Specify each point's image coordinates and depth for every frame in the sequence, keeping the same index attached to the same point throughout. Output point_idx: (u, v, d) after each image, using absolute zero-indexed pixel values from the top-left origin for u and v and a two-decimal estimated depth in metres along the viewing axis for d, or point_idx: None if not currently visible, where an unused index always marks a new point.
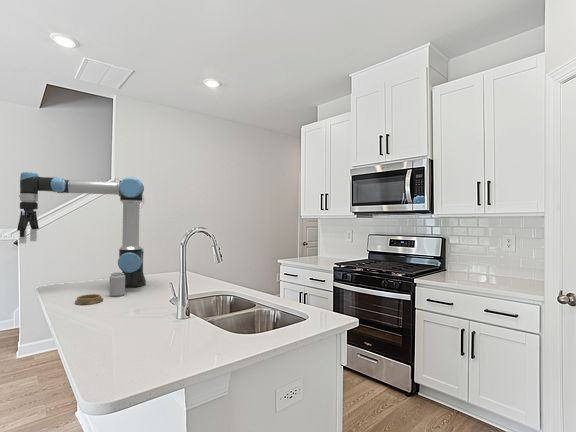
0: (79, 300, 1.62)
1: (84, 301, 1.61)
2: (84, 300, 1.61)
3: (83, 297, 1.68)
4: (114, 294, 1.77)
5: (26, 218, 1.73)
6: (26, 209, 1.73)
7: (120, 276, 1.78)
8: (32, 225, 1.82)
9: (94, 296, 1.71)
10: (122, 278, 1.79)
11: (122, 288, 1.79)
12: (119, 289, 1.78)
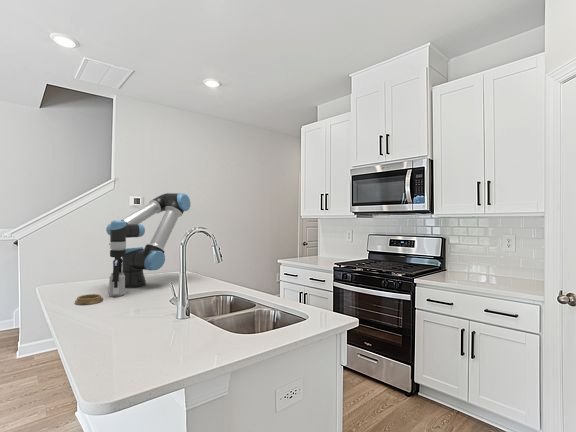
0: (79, 300, 1.62)
1: (84, 301, 1.61)
2: (84, 300, 1.61)
3: (83, 297, 1.68)
4: (114, 294, 1.77)
5: None
6: (117, 257, 1.77)
7: (120, 276, 1.78)
8: None
9: (94, 296, 1.71)
10: (122, 278, 1.79)
11: (122, 288, 1.79)
12: (119, 289, 1.78)
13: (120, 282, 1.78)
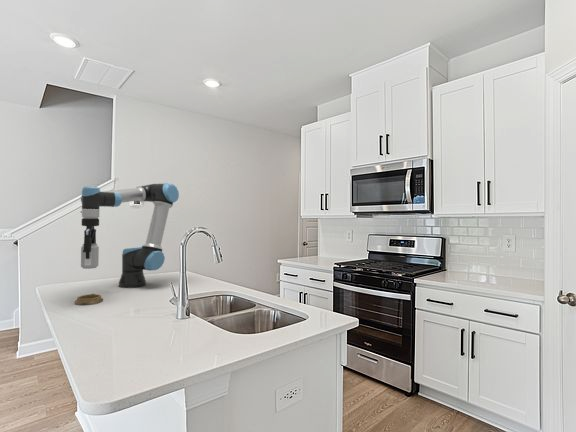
0: (79, 300, 1.62)
1: (84, 301, 1.61)
2: (84, 300, 1.61)
3: (83, 297, 1.68)
4: (86, 266, 1.62)
5: None
6: (89, 226, 1.63)
7: (92, 246, 1.64)
8: None
9: (94, 296, 1.71)
10: (95, 249, 1.65)
11: (95, 260, 1.65)
12: (92, 261, 1.64)
13: (92, 253, 1.64)
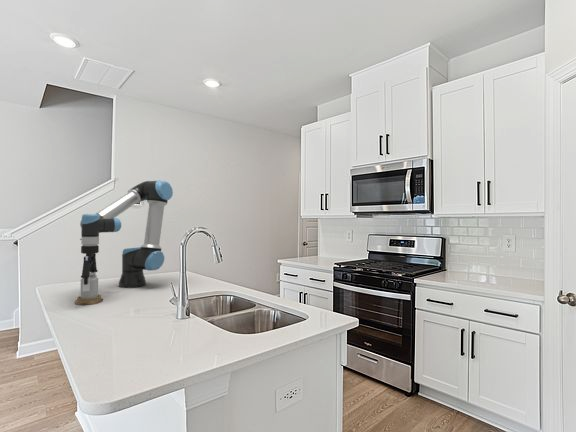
0: (79, 300, 1.62)
1: (84, 301, 1.61)
2: (84, 300, 1.61)
3: None
4: (85, 298, 1.63)
5: None
6: (88, 254, 1.63)
7: (92, 279, 1.64)
8: (91, 268, 1.71)
9: None
10: (94, 281, 1.65)
11: (94, 292, 1.65)
12: (91, 293, 1.64)
13: (92, 285, 1.64)
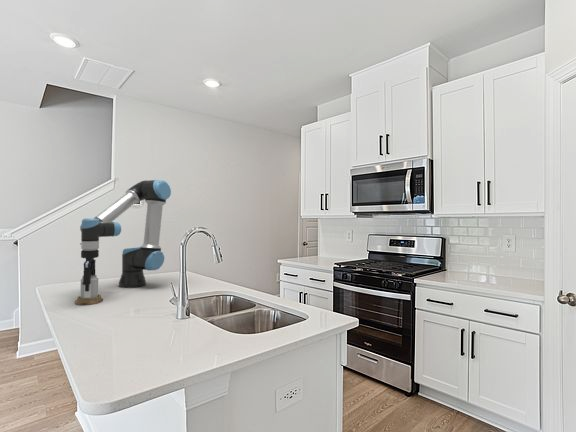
0: (79, 300, 1.62)
1: (84, 301, 1.61)
2: (84, 300, 1.61)
3: None
4: (85, 298, 1.63)
5: None
6: (88, 258, 1.63)
7: (92, 279, 1.64)
8: (90, 275, 1.70)
9: None
10: (94, 281, 1.65)
11: (94, 292, 1.65)
12: (91, 293, 1.64)
13: (92, 285, 1.64)
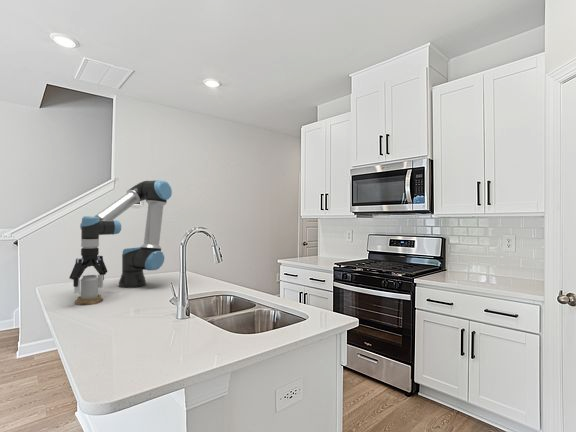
0: (79, 300, 1.62)
1: (84, 301, 1.61)
2: (84, 300, 1.61)
3: None
4: (81, 298, 1.63)
5: (83, 266, 1.62)
6: (83, 256, 1.62)
7: (86, 279, 1.63)
8: (98, 271, 1.72)
9: None
10: (88, 282, 1.63)
11: (88, 293, 1.63)
12: (84, 294, 1.63)
13: (85, 286, 1.63)
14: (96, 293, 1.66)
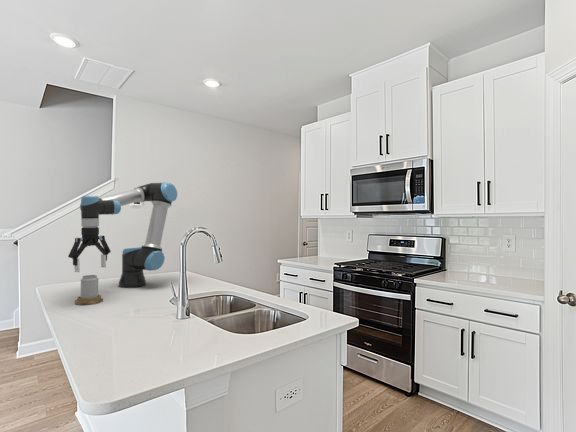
0: (79, 300, 1.62)
1: (84, 301, 1.61)
2: (84, 300, 1.61)
3: None
4: None
5: (83, 245, 1.63)
6: (83, 235, 1.63)
7: (82, 279, 1.64)
8: (101, 250, 1.72)
9: None
10: (82, 282, 1.63)
11: (82, 293, 1.63)
12: None
13: (81, 286, 1.63)
14: (91, 294, 1.63)
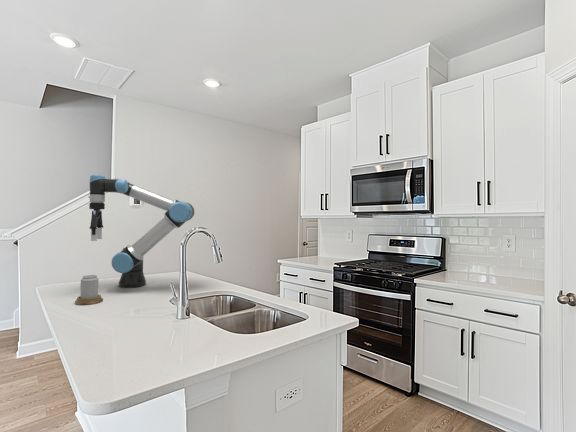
0: (79, 300, 1.62)
1: (84, 301, 1.61)
2: (84, 300, 1.61)
3: None
4: None
5: None
6: (96, 209, 1.86)
7: (82, 279, 1.64)
8: (98, 224, 1.95)
9: None
10: (82, 282, 1.63)
11: (82, 293, 1.63)
12: None
13: (81, 286, 1.63)
14: (91, 294, 1.63)
